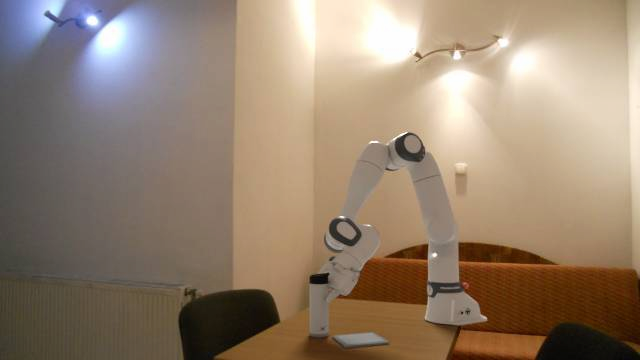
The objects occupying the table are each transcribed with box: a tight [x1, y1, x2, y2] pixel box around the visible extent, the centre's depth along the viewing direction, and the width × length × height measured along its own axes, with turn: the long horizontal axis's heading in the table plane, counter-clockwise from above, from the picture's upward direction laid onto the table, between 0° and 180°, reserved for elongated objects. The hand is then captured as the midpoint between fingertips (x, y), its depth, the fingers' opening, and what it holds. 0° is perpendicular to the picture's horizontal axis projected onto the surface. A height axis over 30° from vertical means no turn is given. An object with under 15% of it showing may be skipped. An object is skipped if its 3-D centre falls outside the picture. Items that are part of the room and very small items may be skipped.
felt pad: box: [331, 331, 390, 349], centre depth 141 cm, size 14×12×1 cm
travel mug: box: [308, 273, 330, 339], centre depth 149 cm, size 6×7×20 cm
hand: (320, 298), depth 149 cm, fingers open, 8 cm apart
